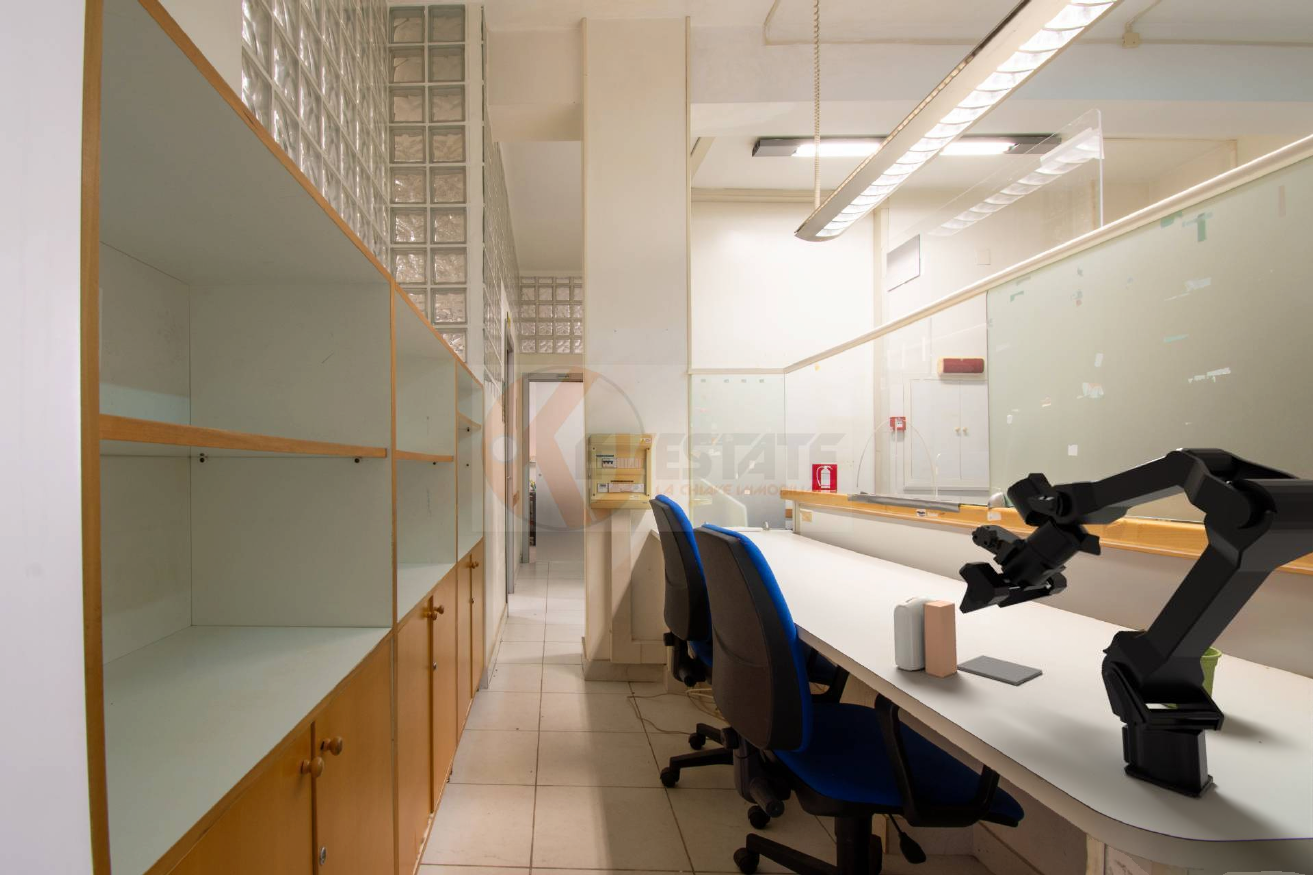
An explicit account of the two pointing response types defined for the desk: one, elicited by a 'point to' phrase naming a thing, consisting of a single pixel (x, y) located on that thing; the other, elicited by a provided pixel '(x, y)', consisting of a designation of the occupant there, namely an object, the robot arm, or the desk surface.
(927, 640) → the tan rectangular block
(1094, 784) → the desk surface
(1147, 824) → the desk surface
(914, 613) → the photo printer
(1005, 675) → the pad
